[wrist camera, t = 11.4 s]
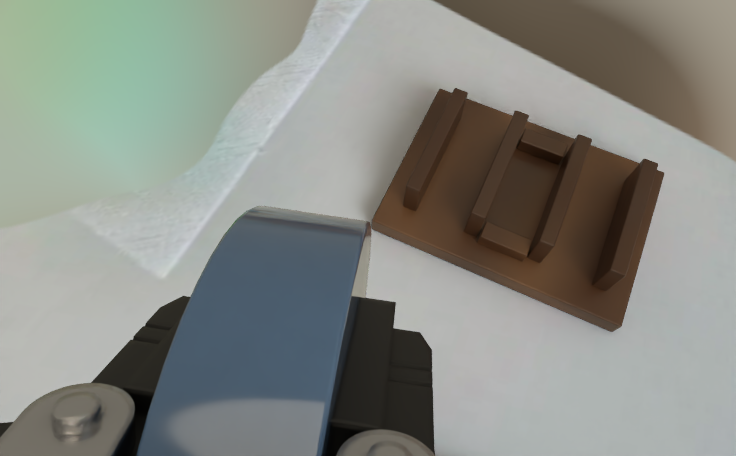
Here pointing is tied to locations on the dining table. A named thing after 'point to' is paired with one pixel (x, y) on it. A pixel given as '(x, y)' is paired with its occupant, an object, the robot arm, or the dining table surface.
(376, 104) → the dining table surface
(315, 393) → the disc
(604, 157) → the rack
